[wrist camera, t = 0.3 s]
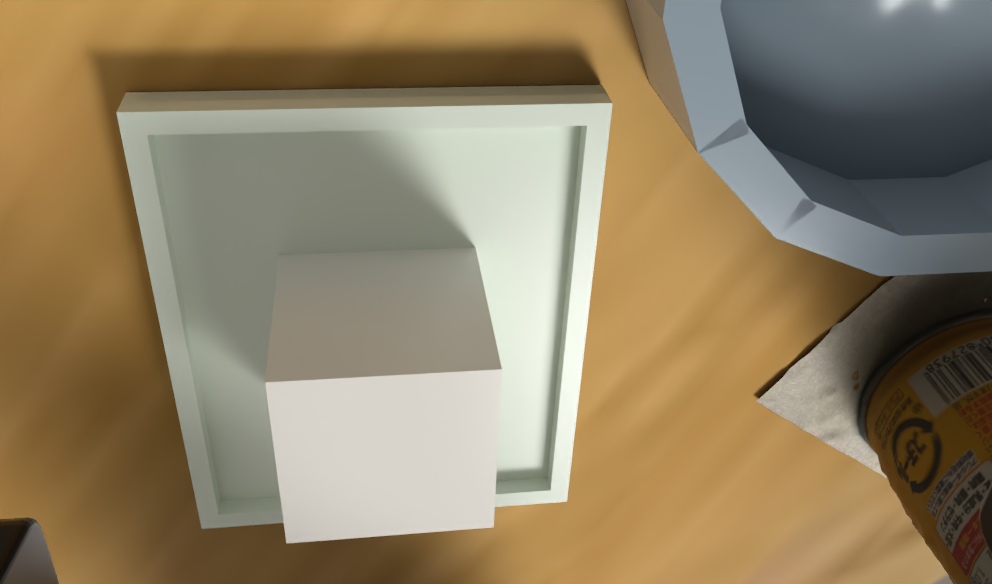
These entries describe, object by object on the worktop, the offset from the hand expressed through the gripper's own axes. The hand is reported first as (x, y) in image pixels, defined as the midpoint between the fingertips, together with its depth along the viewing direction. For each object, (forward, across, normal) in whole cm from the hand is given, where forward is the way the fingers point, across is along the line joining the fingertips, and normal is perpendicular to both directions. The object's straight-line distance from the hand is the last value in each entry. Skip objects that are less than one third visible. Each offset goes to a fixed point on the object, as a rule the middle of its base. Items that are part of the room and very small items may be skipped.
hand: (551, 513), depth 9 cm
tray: (+13, +1, +7) cm, 15 cm away
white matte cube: (+13, +1, +7) cm, 15 cm away
